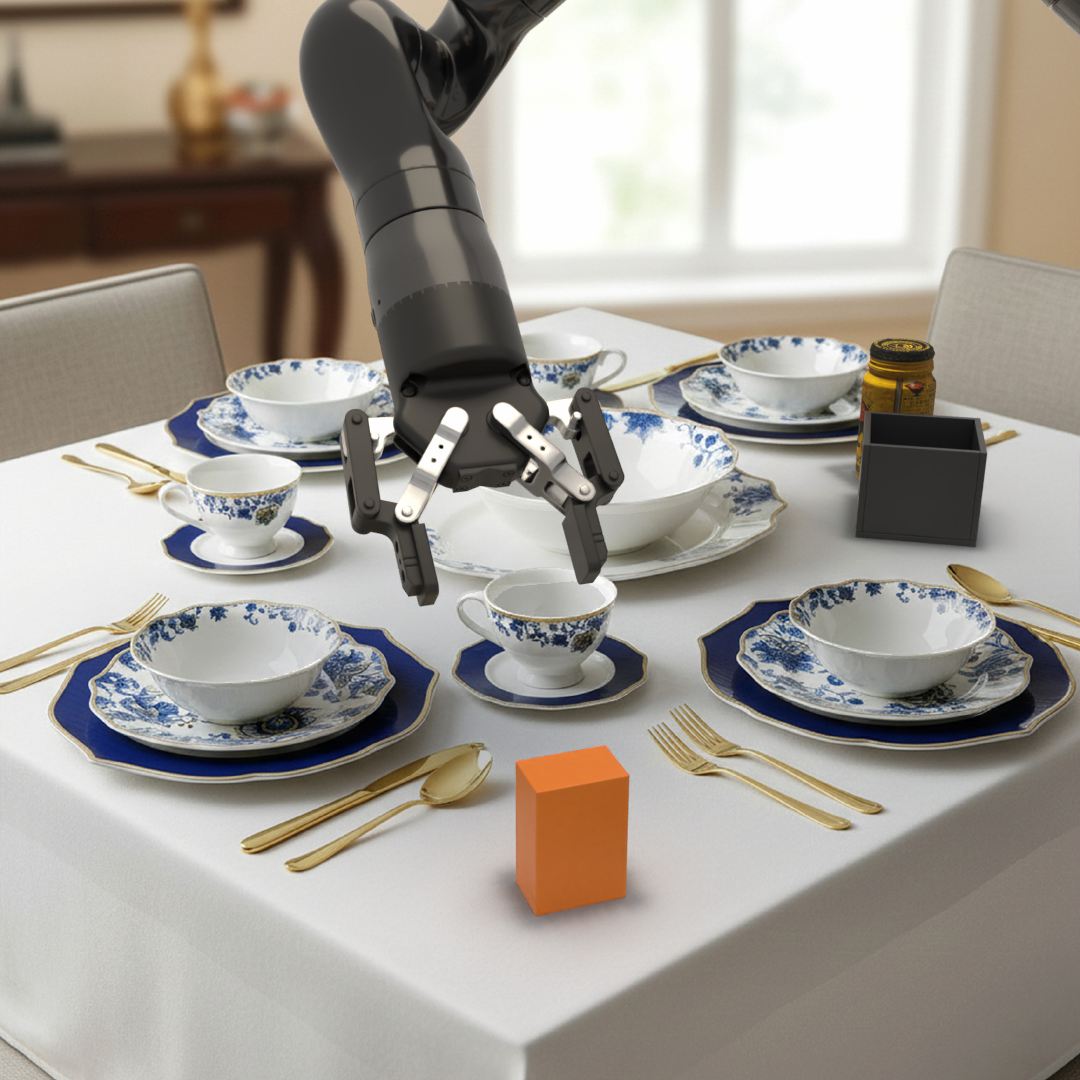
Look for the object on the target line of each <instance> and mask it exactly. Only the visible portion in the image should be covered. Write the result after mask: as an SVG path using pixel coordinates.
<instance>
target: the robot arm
mask: <svg viewBox="0 0 1080 1080" xmlns="http://www.w3.org/2000/svg"><path fill="white" fill-rule="evenodd" d="M565 2H567V0H447V1H446V2H445V5H444V7H443V9H442V10H441V12H440V13H439V15H438V16H437V18H436V19H435V21H434V22H433V23H432V25H431V26H430V27H429V28H427V29H426V28H425V27H424V26H422V25H421V24H420V23H418V21H416V20H415V19H414V18H413V17H412V16H410V15H409V14H408V13H407V12H406V11H405V10H403V9H402V8H400V6H399V5H397V4H396V3H395V2H393V1H392V0H324V1H323V2H322V3H321V4H320V5H319V6H318V7H317V8H316V10H315V11H314V12H313V13H312V14H311V16H310V17H309V20H308V21H307V23H306V26H305V28H304V31H303V33H302V36H301V41H300V46H299V53H298V73H299V79H300V84H301V88H302V92H303V96H304V99H305V103H306V105H307V107H308V109H309V113H310V114H311V117H312V119H313V122H314V123H315V126H316V128H317V130H318V132H319V134H320V137H321V138H322V141H323V143H324V145H325V148H326V149H327V152H328V154H329V156H330V158H331V160H332V162H333V164H334V166H335V168H336V169H337V171H338V173H339V175H340V176H341V178H342V180H343V181H344V184H345V186H346V188H347V189H348V192H349V194H350V196H351V198H352V205H353V209H354V216H355V220H356V225H357V229H358V233H359V238H360V242H361V246H362V251H363V255H364V261H365V269H366V282H367V293H368V298H369V303H370V308H371V309H370V311H371V312H370V317H371V321H372V325H373V327H374V329H375V331H376V332H377V338H378V342H379V343H378V344H379V347H380V353H381V356H382V361H383V365H384V369H385V373H386V378H387V382H388V388H389V391H390V395H391V400H392V404H393V409H394V415H393V416H380V417H379V416H378V417H377V416H376V417H369V416H368V414H367V413H366V412H365V411H364V410H362V409H360V408H352V409H350V410H348V411H347V412H346V413H345V416H344V419H343V423H342V427H341V431H340V434H339V439H338V443H339V449H340V455H341V464H342V469H343V477H344V478H343V479H344V485H345V491H346V498H347V506H348V513H349V520H350V526H351V528H352V530H353V531H354V532H355V533H356V534H358V535H363V536H365V535H368V534H371V533H374V534H378V535H379V534H380V535H382V536H385V537H386V538H388V539H389V540H390V541H391V543H392V546H393V550H394V556H395V559H396V564H397V569H398V574H399V577H400V578H399V579H400V582H401V587H402V590H403V591H404V592H405V594H406V596H407V597H408V598H410V597H416V600H417V604H418V606H419V607H427V606H434V605H435V603H436V601H437V599H438V597H439V595H440V584H439V579H438V575H437V570H436V566H435V562H434V558H433V554H432V553H433V552H432V549H431V545H430V540H429V535H428V532H427V527H426V523H425V522H422V523H420V519H421V517H422V516H423V513H424V512H425V511H426V509H427V507H428V505H429V503H430V502H431V499H432V498H433V496H434V494H435V492H436V490H437V489H438V486H442V487H443V488H446V489H450V490H452V494H456V493H464V492H469V491H472V490H473V489H477V488H479V487H485V488H493V489H499V488H508V487H510V486H511V484H512V483H513V482H515V481H516V482H517V483H518V484H519V485H520V486H522V487H523V488H524V489H525V490H526V491H528V492H529V493H530V494H531V495H532V496H533V497H536V498H543V499H544V500H545V501H546V502H548V503H549V504H550V505H551V506H552V507H553V508H554V509H556V511H557V512H559V513H560V514H562V516H564V519H563V521H562V522H561V527H562V530H563V534H564V538H565V541H566V545H567V549H568V553H569V556H570V560H571V564H572V567H573V568H572V569H573V572H574V576H575V579H576V582H577V584H578V585H580V586H581V585H588V584H593V583H595V581H596V580H597V578H598V577H599V576H600V574H601V572H602V569H603V566H604V565H605V564H606V562H607V561H608V553H609V551H608V547H607V543H606V541H605V539H606V538H605V536H604V532H603V529H602V526H601V522H600V517H599V514H598V510H597V508H598V507H600V506H601V507H603V506H608V504H610V503H611V501H612V500H613V498H614V496H615V494H616V493H617V491H618V490H619V488H620V487H621V486H622V484H623V483H624V482H625V472H624V469H623V467H622V464H621V461H620V459H619V456H618V452H617V450H616V447H615V444H614V442H613V439H612V436H611V433H610V430H609V428H608V425H607V422H606V418H605V416H604V413H603V410H602V407H601V405H600V402H599V399H598V396H597V394H596V392H595V391H594V390H593V389H592V388H590V387H585V386H584V387H580V388H578V389H577V390H576V391H575V393H574V395H573V396H572V397H567V398H565V397H564V398H560V399H554V400H548V401H547V400H545V399H544V398H543V397H542V396H541V395H540V393H539V392H538V391H537V389H536V388H535V385H534V383H533V378H532V377H533V376H532V372H531V367H530V363H529V360H528V356H527V352H526V349H525V345H524V341H523V338H522V333H521V331H520V330H521V329H520V326H519V322H518V319H517V315H516V312H515V308H514V303H513V300H512V296H511V293H510V289H509V286H508V285H509V284H508V282H507V278H506V274H505V270H504V267H503V263H502V261H501V258H500V256H499V253H498V251H497V248H496V247H495V244H494V242H493V239H492V237H491V235H490V231H489V228H488V224H487V222H486V216H485V212H484V209H483V205H482V202H481V197H480V194H479V191H478V190H479V189H478V187H477V183H476V180H475V176H474V174H473V170H472V168H471V165H470V164H469V162H468V159H467V158H466V156H465V155H464V152H462V150H461V149H460V148H459V147H458V145H456V143H455V142H454V141H453V140H452V139H451V137H453V136H454V135H455V134H456V133H457V132H459V130H461V128H462V127H463V126H464V125H465V124H466V123H467V121H468V120H469V119H470V118H471V116H472V115H473V114H474V112H475V111H476V110H477V108H478V106H479V105H480V103H481V102H482V101H483V99H484V98H485V97H486V95H487V94H488V92H489V91H490V89H491V88H492V86H493V85H494V83H495V82H496V80H498V78H499V76H500V75H501V73H502V72H503V71H504V69H505V68H506V67H507V65H508V64H509V62H510V61H511V59H512V57H513V56H514V54H515V53H516V51H517V49H518V48H519V47H520V45H521V43H522V42H523V41H524V39H525V38H526V37H527V35H528V34H529V33H530V32H531V31H532V30H534V29H535V28H536V27H537V26H539V25H540V24H541V23H542V22H544V20H545V18H546V19H547V18H548V17H550V15H552V14H553V13H554V12H555V11H556V10H557V9H559V8H560V7H561V6H562V5H563V4H564V3H565ZM1040 2H1041V3H1042V4H1043V5H1044V6H1045V8H1046V7H1047V8H1049V10H1050V12H1052V13H1053V14H1054V15H1055V16H1056V17H1057V18H1058V19H1060V21H1061V22H1063V23H1064V24H1065V25H1066V26H1067V27H1068V28H1069V29H1070V30H1071V31H1072V32H1074V33H1075V34H1076V35H1077V36H1078V37H1079V38H1080V0H1040ZM547 425H549V426H553V427H555V428H557V430H558V432H559V434H560V435H561V437H562V439H563V440H565V441H569V440H570V442H571V444H572V447H573V450H574V452H575V456H576V458H577V462H578V464H579V467H580V470H581V472H579V471H578V469H576V468H575V467H574V466H572V465H571V464H570V463H569V462H568V460H567V456H566V455H565V453H564V452H563V451H562V450H561V449H560V448H559V447H558V446H556V445H555V444H553V442H551V441H550V440H549V439H548V438H547V437H546V436H545V435H544V434H543V433H544V432H545V429H546V427H547ZM391 441H392V442H393V444H394V445H395V447H396V448H397V449H398V450H400V451H401V452H402V453H403V454H404V455H405V456H406V457H407V458H409V459H410V460H411V461H412V462H413V463H414V464H415V465H417V466H416V468H415V469H414V471H413V473H412V475H411V478H410V480H409V482H408V484H407V485H406V487H405V489H404V490H403V492H402V494H401V496H400V498H399V500H398V502H395V501H389V500H384V499H381V493H380V486H379V480H378V479H379V478H378V473H377V466H376V461H378V460H379V459H380V458H382V456H383V455H382V454H383V452H384V449H385V444H386V443H388V442H391ZM531 460H533V461H534V462H535V464H534V463H533V462H532V461H531ZM581 473H582V474H581Z"/></svg>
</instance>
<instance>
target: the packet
mask: <svg viewBox="0 0 1080 1080" xmlns="http://www.w3.org/2000/svg"><path fill="white" fill-rule="evenodd" d="M629 805H630V773H628V772H627V770H626V768H624V766H623V765H622V764H621V762H620V761H619V760H618V759H617V757H616V756H615V755H614V754H613V753H612V751H611V749H609V747H608V746H607V745H605V744H603V745H597V746H592V747H586V748H580V749H575V750H570V751H564V752H558V753H553V754H549V755H542V756H537V757H530V758H524V759H520V760H516V761H515V882H516V885H517V886H518V888H519V890H520V892H521V893H522V896H524V899H525V900H526V902H527V904H528V905H529V907H530V908H531V911H532V912H533V914H534V916H535V917H539V916H544V915H548V914H553V913H558V912H563V911H568V910H572V909H576V908H581V907H586V906H590V905H596V904H599V903H604V902H609V901H613V900H619V899H623V898H626V897H627V876H628V875H627V873H628V842H629V841H628V839H629V838H628V837H629V808H630V807H629Z"/></svg>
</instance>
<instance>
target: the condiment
mask: <svg viewBox="0 0 1080 1080" xmlns="http://www.w3.org/2000/svg"><path fill="white" fill-rule="evenodd" d="M935 356H936V351H935V349H934V346H933V345H932V344H930V343H929V342H926V341H923V340H918V339H912V338H902V337H901V338H900V337H899V338H898V337H895V338H893V337H892V338H882V339H878V340H876V341H873V342H872V343H871V345H870V348H869V361H868V363H867V367H868V370H867V371H866V372H865V373H864V375H863V377H862V384H861V396H860V397H861V398H860V411H859V421H858V430H857V439H856V441H857V444H856V457H855V471H856V472H855V478H856V480H857V481H859V473H860V462H861V451H862V440H863V429H864V418H865V411H871V412H872V411H877V412H892V413H908V414H923V415H934V413H935V404H936V403H935V402H936V393H937V379H936V378H935V376H934V375H933V371H934V370H935V361H934V358H935Z"/></svg>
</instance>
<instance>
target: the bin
mask: <svg viewBox="0 0 1080 1080" xmlns="http://www.w3.org/2000/svg"><path fill="white" fill-rule="evenodd" d="M987 459H988V449H987V444H986V439H985V434H984V430H983V425H982V420H981V418H980V417H967V416H955V415H954V416H952V415H937V414H933V415H923V414H908V413H892V412H877V411H872V412H871V411H865V418H864V429H863V440H862V451H861V462H860V473H859V480H858V484H857V496H856V512H855V513H856V514H855V515H856V516H855V529H854V530H855V533H854V537H855V538H859V539H870V540H882V541H894V542H908V543H918V544H919V543H921V544H931V545H942V546H943V545H945V546H954V547H955V546H956V547H957V546H958V547H970V548H976V547H977V541H978V533H979V525H980V517H981V509H982V501H983V493H984V483H985V477H986V476H985V475H986V468H987Z"/></svg>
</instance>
